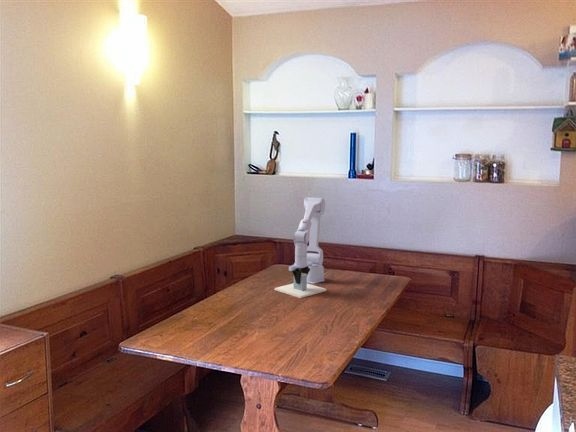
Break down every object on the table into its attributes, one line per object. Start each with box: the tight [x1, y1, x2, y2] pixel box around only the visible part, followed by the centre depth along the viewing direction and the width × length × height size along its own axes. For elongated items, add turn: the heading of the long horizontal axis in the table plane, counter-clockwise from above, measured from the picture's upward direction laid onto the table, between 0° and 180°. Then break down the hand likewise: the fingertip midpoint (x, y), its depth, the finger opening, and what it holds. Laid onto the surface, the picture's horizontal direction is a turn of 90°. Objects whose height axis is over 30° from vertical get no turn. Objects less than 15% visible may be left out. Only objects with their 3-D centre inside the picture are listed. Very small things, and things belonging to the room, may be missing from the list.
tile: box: [274, 282, 327, 299], centre depth 259 cm, size 18×18×1 cm
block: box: [293, 273, 308, 291], centre depth 257 cm, size 3×6×8 cm, turn 44°
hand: (300, 282), depth 257 cm, fingers open, 3 cm apart
